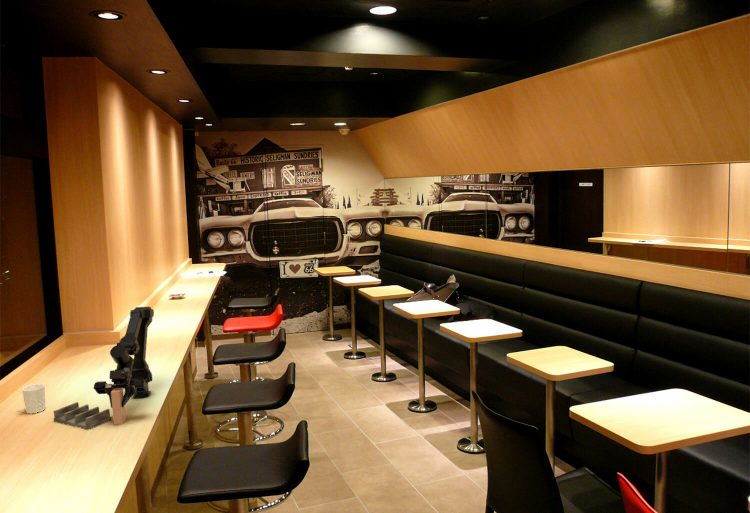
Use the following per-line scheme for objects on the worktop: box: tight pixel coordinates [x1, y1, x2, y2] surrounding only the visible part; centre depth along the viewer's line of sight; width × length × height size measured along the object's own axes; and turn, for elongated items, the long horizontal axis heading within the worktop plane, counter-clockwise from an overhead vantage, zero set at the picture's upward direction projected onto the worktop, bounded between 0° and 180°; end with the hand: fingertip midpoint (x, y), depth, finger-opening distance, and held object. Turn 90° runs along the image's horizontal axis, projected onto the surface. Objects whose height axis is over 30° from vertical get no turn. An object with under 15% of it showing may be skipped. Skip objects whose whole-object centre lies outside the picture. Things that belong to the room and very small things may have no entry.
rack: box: [53, 401, 112, 430], centre depth 235 cm, size 10×20×4 cm, turn 63°
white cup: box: [21, 383, 46, 415], centre depth 246 cm, size 8×8×10 cm
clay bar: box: [111, 388, 126, 426], centre depth 232 cm, size 4×3×13 cm, turn 5°
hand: (117, 407), depth 230 cm, fingers open, 4 cm apart
